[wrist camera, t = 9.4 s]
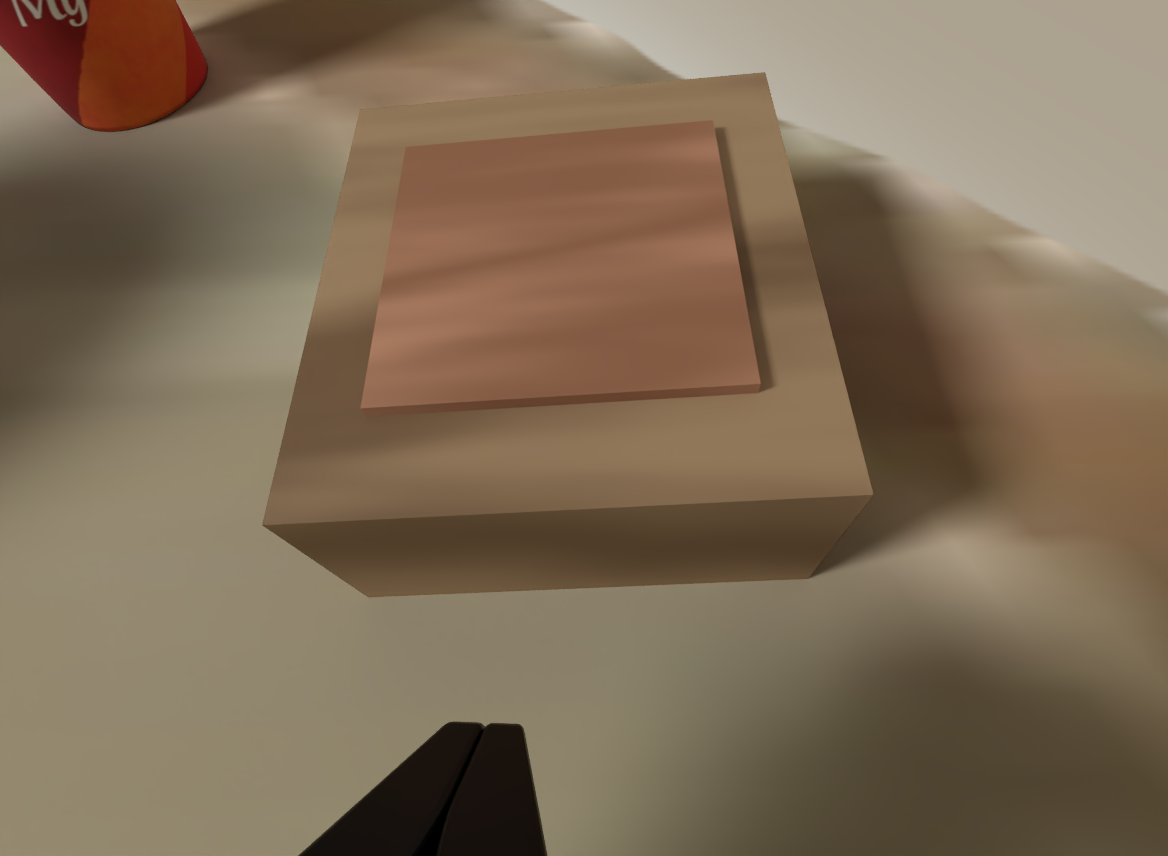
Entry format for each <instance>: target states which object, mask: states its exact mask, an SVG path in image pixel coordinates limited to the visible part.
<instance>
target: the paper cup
mask: <svg viewBox="0 0 1168 856" xmlns="http://www.w3.org/2000/svg"><path fill="white" fill-rule="evenodd" d="M0 45H1V47H2V48H3V49H4V50H5V51H6V52H7V53H8V54H9V55H10V56H11V57H12V58H13V59H14V60H15V61H16V62H17V63H18V64H19V65H20V66H21V67H22V68H23V69H24V70H25V71H26V72H27V74H28V75H29V76H30V77H31V78H32V79H33V80H34V81H35V82H36V83H37V84H38V85H39V86H40V87H41V88H42V89H43V90H44V91H45V92H46V93H47V94H48V95H49V96H50V97H51V98H52V99H53V100H54V101H55V102H56V103H57V104H58V105H59V106H60V107H61V108H62V109H63V110H64V111H65V112H66V113H67V114H68V115H69V116H70V117H72V118H73V119H74V120H75V121H76V122H77V123H79V124H80V125H82V126H83V127H86V128H88V129H92V130H96V131H122V130H128V129H133V128H137V127H140V126H144V125H147V124H150V123H152V122H155V121H157V120H159V119H161V118H164V117H166V116H167V115H169V114H171V113H173V112H174V111H176V110H178V109H179V108H180V107H182V106H183V105H185V104H186V103H187V102H188V101H189V100H190V99H192V98H193V97H194V96H195V95H196V93H197V92H198V91H199V90H200V88H201V87H202V85H203V84H204V82H205V79H206V76H207V71H208V68H207V63H206V60H205V58H204V56H203V53H202V51H201V49H200V47H199V45H198V43H197V41H196V39H195V37H194V35H193V33H192V31H191V29H190V27H189V25H188V23H187V22H186V20H185V18H184V16H183V14H182V12H181V10H180V8H179V6H178V4H177V2H176V0H0Z"/></svg>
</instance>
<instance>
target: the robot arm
mask: <svg viewBox="0 0 1168 856" xmlns="http://www.w3.org/2000/svg"><path fill="white" fill-rule="evenodd" d="M299 856H547V851H546V845H545V840H544V835H543V829H542V824H541V818H540V813H539V808H538V802H537V797H536V791H535V786H534V781H533V775H532V770H531V765H530V759H529V754H528V748H527V743H526V738H525V732H524V729H523V727H522V726H521V725H520V724H505V723H490V724H489V725H487V726H486V727H485V726H484V725H483V724H481V723H478V722H449V723H447V724H445V725H444V726H443V727H442V728H440V729H439V730H438V731H437V732H436V733H435V734H434V735H433V736H431V737H430V738H429V739H428V740H427V741H426V742H425V743H424V744H423V745H421V746H420V747H419V748H418V749H417V750H416V751H415V752H414V753H412V754H411V755H410V756H409V757H408V758H407V759H406V760H405V761H404V762H402V763H401V764H400V765H399V766H398V767H397V768H396V769H395V770H393V771H392V772H391V773H390V774H389V775H388V776H387V777H386V778H385V779H383V780H382V781H381V782H380V783H379V784H378V785H377V786H376V787H374V788H373V789H372V790H371V791H370V792H369V793H368V794H367V795H366V796H364V797H363V798H362V799H361V800H360V801H359V802H358V803H357V804H355V805H354V806H353V807H352V808H351V809H350V810H349V811H348V812H347V813H345V814H344V815H343V816H342V817H341V818H340V819H339V820H338V821H337V822H335V823H334V824H333V825H332V826H331V827H330V828H329V829H328V830H326V831H325V832H324V833H323V834H322V835H321V836H320V837H319V838H318V839H316V840H315V841H314V842H313V843H312V844H311V845H310V846H309V847H307V848H306V849H305V850H304V851H303V852H302V853H301V854H300V855H299Z"/></svg>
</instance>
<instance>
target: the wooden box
mask: <svg viewBox="0 0 1168 856" xmlns="http://www.w3.org/2000/svg"><path fill="white" fill-rule="evenodd" d="M873 495H874V494H873V490H872V486H871V483H870V479H869V475H868V471H867V467H866V463H865V459H864V455H863V451H862V448H861V444H860V440H859V436H858V432H857V428H856V424H855V420H854V416H853V412H852V409H851V405H850V401H849V397H848V393H847V389H846V385H845V381H844V377H843V374H842V370H841V366H840V362H839V358H838V354H837V350H836V346H835V342H834V339H833V335H832V331H831V327H830V323H829V319H828V315H827V311H826V307H825V303H824V300H823V296H822V292H821V288H820V284H819V280H818V276H817V272H816V268H815V265H814V261H813V257H812V253H811V249H810V245H809V241H808V237H807V233H806V230H805V226H804V222H803V218H802V214H801V210H800V206H799V202H798V198H797V194H796V191H795V187H794V183H793V179H792V175H791V171H790V167H789V163H788V159H787V156H786V152H785V148H784V144H783V140H782V136H781V132H780V128H779V124H778V120H777V117H776V113H775V109H774V105H773V101H772V97H771V93H770V89H769V86H768V82H767V78H766V74H765V73H753V74H743V75H731V76H720V77H710V78H698V79H687V80H676V81H665V82H654V83H644V84H633V85H622V86H611V87H600V88H589V89H578V90H567V91H556V92H545V93H534V94H523V95H513V96H502V97H491V98H480V99H469V100H458V101H447V102H436V103H425V104H414V105H403V106H393V107H382V108H371V109H360V112H359V117H358V121H357V125H356V129H355V134H354V138H353V142H352V146H351V151H350V155H349V159H348V163H347V168H346V172H345V176H344V180H343V185H342V189H341V193H340V197H339V202H338V206H337V210H336V214H335V219H334V223H333V227H332V231H331V236H330V240H329V244H328V248H327V253H326V257H325V261H324V265H323V270H322V274H321V278H320V282H319V287H318V291H317V295H316V299H315V304H314V308H313V312H312V316H311V321H310V325H309V329H308V333H307V337H306V342H305V346H304V350H303V354H302V359H301V363H300V367H299V371H298V376H297V380H296V384H295V388H294V393H293V397H292V401H291V405H290V410H289V414H288V418H287V422H286V427H285V431H284V435H283V439H282V444H281V448H280V452H279V456H278V461H277V465H276V469H275V473H274V478H273V482H272V486H271V490H270V495H269V499H268V503H267V507H266V512H265V516H264V520H263V524H262V525H263V526H264V527H266V528H267V529H269V530H270V531H272V532H273V533H275V534H276V535H277V536H279V537H280V538H282V539H283V540H285V541H286V542H288V543H289V544H291V545H292V546H294V547H295V548H297V549H298V550H299V551H301V552H302V553H304V554H305V555H307V556H308V557H310V558H311V559H313V560H314V561H316V562H317V563H319V564H320V565H321V566H323V567H324V568H326V569H327V570H329V571H330V572H332V573H333V574H335V575H336V576H338V577H339V578H341V579H342V580H344V581H345V582H346V583H348V584H349V585H351V586H352V587H354V588H355V589H357V590H358V591H360V592H361V593H363V594H364V595H366V596H367V597H385V596H408V595H432V594H456V593H479V592H503V591H527V590H551V589H574V588H598V587H622V586H645V585H669V584H693V583H717V582H740V581H764V580H788V579H808V578H809V577H810V576H811V575H812V573H813V572H814V571H815V569H816V568H817V567H818V566H819V564H820V563H821V562H822V560H823V559H824V558H825V557H826V555H827V554H828V553H829V551H830V550H831V549H832V548H833V546H834V545H835V544H836V542H837V541H838V540H839V539H840V537H841V536H842V535H843V533H844V532H845V531H846V530H847V528H848V527H849V526H850V524H851V523H852V522H853V521H854V519H855V518H856V517H857V515H858V514H859V513H860V512H861V510H862V509H863V508H864V506H865V505H866V504H867V503H868V501H869V500H870V499H871V497H872V496H873Z"/></svg>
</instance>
